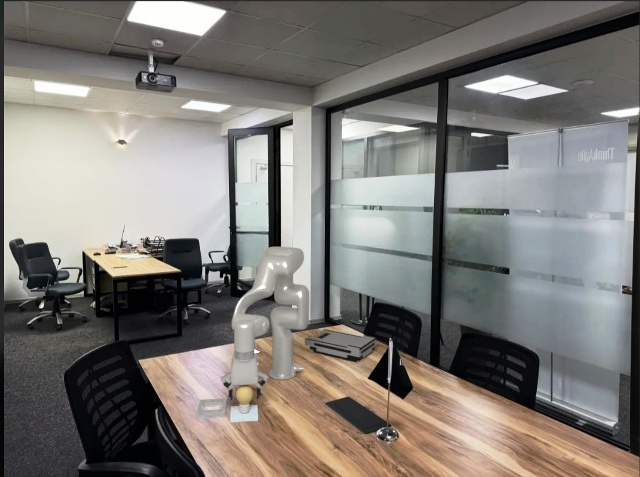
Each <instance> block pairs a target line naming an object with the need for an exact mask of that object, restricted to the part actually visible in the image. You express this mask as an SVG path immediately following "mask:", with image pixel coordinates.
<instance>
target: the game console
mask: <svg viewBox="0 0 640 477" xmlns="http://www.w3.org/2000/svg"><path fill="white" fill-rule="evenodd" d="M304 345H305V346H308V347H309V350H313V353H314V354H318V355H322V356H326V357H331V358H335V359H340V360H343V361H349V362H353V363H357V362H359V361H360V360H362V359H363V358H365V357H367V356H368V355H370V354H371V353H372V352H373V351H374V350H375V349H376V348H375V347H376V346H377V337H376V336H372V335H367V334H364V335H362V336H360V335H355V334H350V333H345V332H341V331H335V330H330V329H326V328H325V329H323V330H320V331H319V336H318V337H315V336H308V337H306V338H305V339H304Z"/></svg>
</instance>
